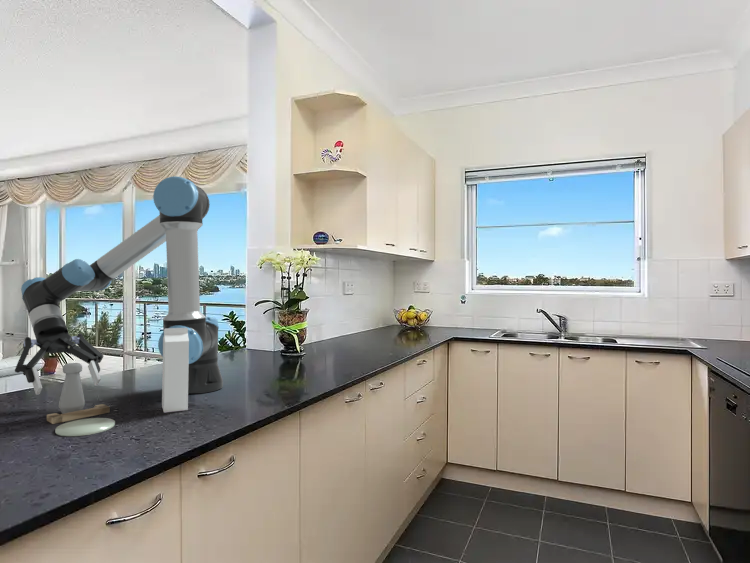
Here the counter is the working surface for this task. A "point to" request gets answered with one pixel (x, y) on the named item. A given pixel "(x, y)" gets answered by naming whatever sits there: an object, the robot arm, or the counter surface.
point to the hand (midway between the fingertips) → (69, 386)
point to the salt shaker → (72, 389)
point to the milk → (175, 369)
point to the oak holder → (78, 414)
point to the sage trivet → (85, 427)
